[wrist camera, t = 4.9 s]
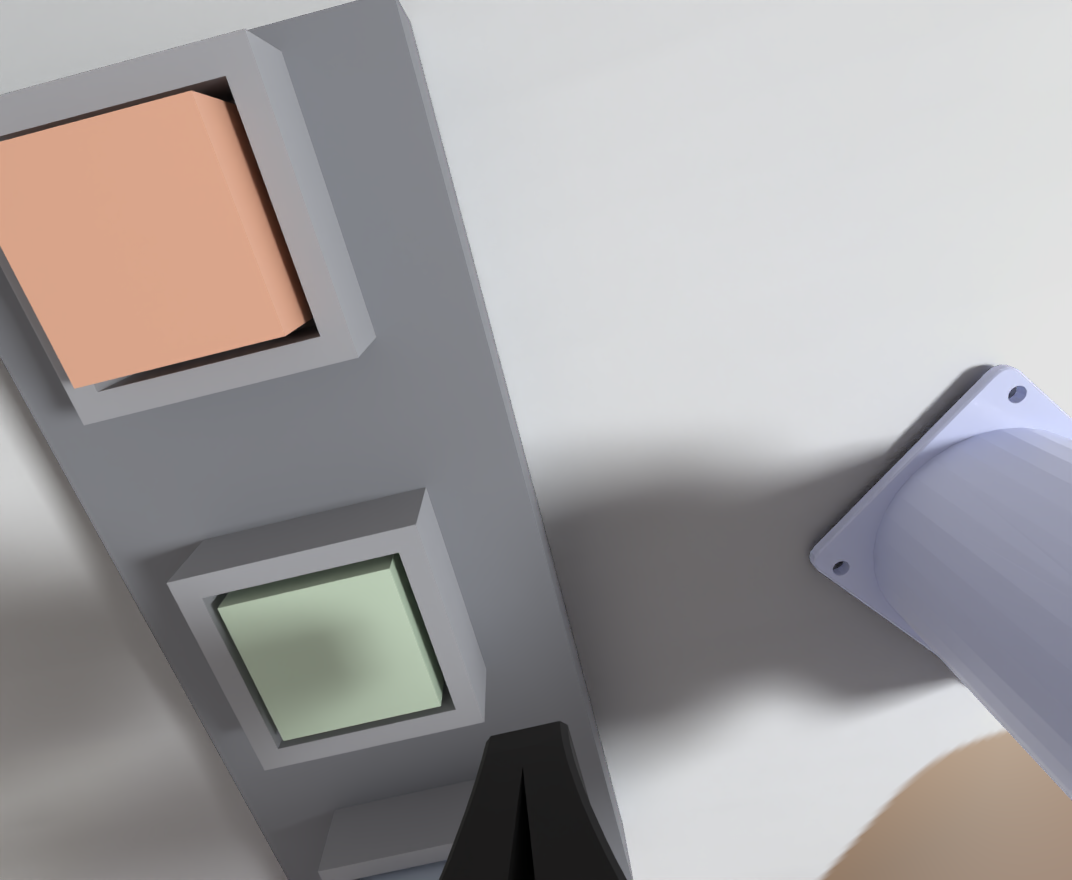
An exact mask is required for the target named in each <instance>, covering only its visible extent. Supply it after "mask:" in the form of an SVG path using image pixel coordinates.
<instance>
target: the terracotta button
mask: <svg viewBox="0 0 1072 880" xmlns="http://www.w3.org/2000/svg"><path fill="white" fill-rule="evenodd" d="M0 246H1V248H2V250H3V252H4V254H5V256H6V258H7V260H8V262H9V264H10V266H11V268H12V269H13V271H14V273H15V275H16V277H17V279H18V281H19V283H20V285H21V287H22V289H23V291H24V293H25V295H26V296H27V298H28V300H29V302H30V304H31V306H32V308H33V310H34V312H35V314H36V316H37V318H38V320H39V322H40V323H41V325H42V327H43V329H44V331H45V333H46V335H47V337H48V339H49V341H50V343H51V345H52V347H53V349H54V350H55V352H56V354H57V356H58V358H59V360H60V362H61V364H62V366H63V368H64V370H65V372H66V374H67V376H68V378H69V379H70V381H71V383H72V385H73V387H74V389H75V388H79V387H83V386H87V385H91V384H95V383H99V382H103V381H107V380H111V379H115V378H119V377H123V376H127V375H131V374H135V373H140V372H144V371H148V370H152V369H156V368H160V367H164V366H168V365H172V364H176V363H180V362H184V361H188V360H192V359H196V358H200V357H204V356H208V355H212V354H216V353H220V352H224V351H228V350H232V349H236V348H240V347H244V346H248V345H252V344H256V343H260V342H264V341H268V340H272V339H276V338H280V337H284V336H286V335H288V334H289V333H291V332H292V331H294V330H295V329H297V328H298V327H300V326H301V325H303V324H304V323H306V322H307V321H309V320H310V319H312V318H313V315H312V312H311V309H310V307H309V304H308V301H307V298H306V296H305V293H304V290H303V287H302V285H301V282H300V279H299V276H298V274H297V271H296V268H295V265H294V263H293V260H292V257H291V254H290V252H289V249H288V246H287V243H286V241H285V238H284V235H283V232H282V230H281V227H280V224H279V221H278V219H277V216H276V213H275V210H274V208H273V205H272V202H271V199H270V197H269V194H268V191H267V188H266V185H265V183H264V180H263V177H262V174H261V172H260V169H259V166H258V163H257V161H256V158H255V155H254V152H253V150H252V147H251V144H250V141H249V139H248V136H247V133H246V130H245V128H244V125H243V122H242V119H241V117H240V114H239V111H238V108H237V106H236V105H235V104H232V103H229V102H226V101H223V100H220V99H217V98H214V97H210V96H207V95H204V94H201V93H198V92H195V91H192V90H191V91H188V92H184V93H180V94H176V95H173V96H169V97H165V98H161V99H158V100H154V101H150V102H146V103H143V104H139V105H135V106H132V107H128V108H124V109H120V110H117V111H113V112H109V113H105V114H102V115H98V116H94V117H90V118H87V119H83V120H79V121H76V122H72V123H68V124H64V125H61V126H57V127H53V128H49V129H46V130H42V131H38V132H34V133H31V134H27V135H23V136H20V137H16V138H12V139H8V140H5V141H1V142H0Z"/></svg>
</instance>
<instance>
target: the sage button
mask: <svg viewBox="0 0 1072 880" xmlns="http://www.w3.org/2000/svg"><path fill="white" fill-rule="evenodd" d="M217 609H218V611H219V613H220V615H221V617H222V619H223V621H224V623H225V625H226V627H227V629H228V631H229V633H230V635H231V637H232V639H233V641H234V643H235V645H236V647H237V649H238V651H239V653H240V655H241V657H242V659H243V661H244V663H245V665H246V667H247V669H248V671H249V673H250V675H251V677H252V679H253V681H254V683H255V685H256V687H257V689H258V691H259V693H260V695H261V697H262V699H263V701H264V703H265V705H266V707H267V709H268V711H269V713H270V715H271V717H272V719H273V721H274V723H275V725H276V727H277V729H278V731H279V733H280V735H281V737H282V739H283V741H286V740H291V739H295V738H300V737H304V736H309V735H313V734H318V733H322V732H327V731H331V730H336V729H340V728H345V727H349V726H354V725H358V724H363V723H367V722H372V721H376V720H381V719H385V718H390V717H394V716H399V715H403V714H408V713H412V712H417V711H421V710H426V709H430V708H435V707H439V706H441V701H442V693H443V685H444V676H443V673H442V670H441V667H440V665H439V662H438V659H437V656H436V654H435V651H434V648H433V645H432V643H431V640H430V637H429V634H428V632H427V629H426V626H425V623H424V621H423V618H422V615H421V612H420V610H419V607H418V604H417V601H416V599H415V596H414V593H413V590H412V588H411V585H410V582H409V579H408V577H407V574H406V571H405V568H404V566H403V563H402V560H401V557H400V555H399V553H395V554H390V555H386V556H382V557H377V558H373V559H369V560H365V561H360V562H356V563H352V564H347V565H343V566H339V567H335V568H330V569H326V570H322V571H317V572H313V573H309V574H305V575H300V576H296V577H292V578H287V579H283V580H279V581H274V582H270V583H266V584H262V585H257V586H253V587H249V588H244V589H240V590H236V591H232V592H228V594H227V595H226V597H225V598H224V600H223V601H222V603H221V604H220V605H219V607H218V608H217Z"/></svg>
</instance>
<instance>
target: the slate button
mask: <svg viewBox="0 0 1072 880" xmlns="http://www.w3.org/2000/svg"><path fill="white" fill-rule="evenodd" d="M446 861H447V860H444V861H439V862H434V863H429V864H425V865H420V866H415V867H411V868H406V869H401V870H396V871H392V872H387V873H382V874H377V875H373V876H368V877H363V878H360V880H439V878H440V876H441V873H442V871H443V868H444V866H445V863H446Z"/></svg>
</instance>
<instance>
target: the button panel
mask: <svg viewBox="0 0 1072 880" xmlns="http://www.w3.org/2000/svg"><path fill="white" fill-rule="evenodd" d="M191 90H192V91H195V92H198V93H201V94H204V95H207V96H210V97H214V98H217V99H220V100H223V101H226V102H229V103H232V104H235V105H236V106H237V108H238V111H239V114H240V117H241V119H242V122H243V125H244V128H245V130H246V133H247V136H248V139H249V141H250V144H251V147H252V150H253V152H254V155H255V158H256V161H257V163H258V166H259V169H260V172H261V174H262V177H263V180H264V183H265V185H266V188H267V191H268V194H269V197H270V199H271V202H272V205H273V208H274V210H275V213H276V216H277V219H278V221H279V224H280V227H281V230H282V232H283V235H284V238H285V241H286V243H287V246H288V249H289V252H290V254H291V257H292V260H293V263H294V265H295V268H296V271H297V274H298V276H299V279H300V282H301V285H302V287H303V290H304V293H305V296H306V298H307V301H308V304H309V307H310V309H311V312H312V315H313V318H312V319H310V320H309V321H307V322H306V323H304V324H303V325H301V326H300V327H298V328H297V329H295V330H294V331H292V332H291V333H289V334H288V335H286V336H284V337H280V338H276V339H272V340H268V341H264V342H260V343H256V344H252V345H248V346H244V347H240V348H236V349H232V350H228V351H224V352H220V353H216V354H212V355H208V356H204V357H200V358H196V359H192V360H188V361H184V362H180V363H176V364H172V365H168V366H164V367H160V368H156V369H152V370H148V371H144V372H140V373H135V374H131V375H127V376H123V377H119V378H115V379H111V380H107V381H103V382H99V383H95V384H91V385H87V386H83V387H79V388H75V389H74V387H73V385H72V383H71V381H70V379H69V378H68V376H67V374H66V372H65V370H64V368H63V366H62V364H61V362H60V360H59V358H58V356H57V354H56V352H55V350H54V349H53V347H52V345H51V343H50V341H49V339H48V337H47V335H46V333H45V331H44V329H43V327H42V325H41V323H40V322H39V320H38V318H37V316H36V314H35V312H34V310H33V308H32V306H31V304H30V302H29V300H28V298H27V296H26V295H25V293H24V291H23V289H22V287H21V285H20V283H19V281H18V279H17V277H16V275H15V273H14V271H13V269H12V268H11V266H10V264H9V262H8V260H7V258H6V256H5V254H4V252H3V250H2V248H1V246H0V358H1V359H2V361H3V363H4V365H5V367H6V369H7V370H8V372H9V374H10V376H11V378H12V379H13V381H14V383H15V385H16V387H17V388H18V390H19V392H20V394H21V396H22V398H23V399H24V401H25V403H26V405H27V407H28V408H29V410H30V412H31V414H32V416H33V417H34V419H35V421H36V423H37V425H38V427H39V428H40V430H41V432H42V434H43V436H44V437H45V439H46V441H47V443H48V445H49V446H50V448H51V450H52V452H53V454H54V456H55V457H56V459H57V461H58V463H59V465H60V466H61V468H62V470H63V472H64V474H65V476H66V477H67V479H68V481H69V483H70V485H71V486H72V488H73V490H74V492H75V494H76V495H77V497H78V499H79V501H80V503H81V505H82V506H83V508H84V510H85V512H86V514H87V515H88V517H89V519H90V521H91V523H92V524H93V526H94V528H95V530H96V532H97V534H98V535H99V537H100V539H101V541H102V543H103V544H104V546H105V548H106V550H107V552H108V553H109V555H110V557H111V559H112V561H113V563H114V564H115V566H116V568H117V570H118V572H119V573H120V575H121V577H122V579H123V581H124V582H125V584H126V586H127V588H128V590H129V592H130V593H131V595H132V597H133V599H134V601H135V602H136V604H137V606H138V608H139V610H140V612H141V613H142V615H143V617H144V619H145V621H146V622H147V624H148V626H149V628H150V630H151V631H152V633H153V635H154V637H155V639H156V641H157V642H158V644H159V646H160V648H161V650H162V651H163V653H164V655H165V657H166V659H167V660H168V662H169V664H170V666H171V668H172V670H173V671H174V673H175V675H176V677H177V679H178V680H179V682H180V684H181V686H182V688H183V689H184V691H185V693H186V695H187V697H188V699H189V700H190V702H191V704H192V706H193V708H194V709H195V711H196V713H197V715H198V717H199V719H200V720H201V722H202V724H203V726H204V728H205V729H206V731H207V733H208V735H209V737H210V738H211V740H212V742H213V744H214V746H215V748H216V749H217V751H218V753H219V755H220V757H221V758H222V760H223V762H224V764H225V766H226V767H227V769H228V771H229V773H230V775H231V777H232V778H233V780H234V782H235V784H236V786H237V787H238V789H239V791H240V793H241V795H242V796H243V798H244V800H245V802H246V804H247V806H248V807H249V809H250V811H251V813H252V815H253V816H254V818H255V820H256V822H257V824H258V826H259V827H260V829H261V831H262V833H263V835H264V836H265V838H266V840H267V842H268V844H269V845H270V847H271V849H272V851H273V853H274V855H275V856H276V858H277V860H278V862H279V864H280V865H281V867H282V869H283V871H284V873H285V874H286V876H287V878H288V880H360V878H363V877H368V876H373V875H377V874H382V873H387V872H392V871H396V870H401V869H406V868H411V867H415V866H420V865H425V864H429V863H434V862H439V861H444V860H447V858H448V856H449V853H450V850H451V848H452V845H453V842H454V840H455V837H456V834H457V832H458V829H459V826H460V824H461V821H462V818H463V816H464V813H465V810H466V807H467V804H468V801H469V798H470V795H471V792H472V789H473V786H474V783H475V779H476V776H477V773H478V770H479V766H480V763H481V759H482V756H483V752H484V748H485V744H486V742H487V740H488V739H489V738H490V736H493V735H497V734H502V733H506V732H511V731H516V730H520V729H525V728H529V727H534V726H538V725H543V724H547V723H552V722H557V721H561V722H563V723H565V724H567V725H568V727H569V731H570V734H571V738H572V741H573V745H574V748H575V752H576V755H577V759H578V762H579V766H580V769H581V773H582V776H583V780H584V783H585V787H586V790H587V794H588V797H589V801H590V804H591V807H592V809H593V811H594V813H595V815H596V818H597V820H598V822H599V824H600V827H601V829H602V831H603V833H604V835H605V838H606V840H607V842H608V844H609V846H610V848H611V850H612V852H613V854H614V856H615V858H616V860H617V862H618V864H619V866H620V867H621V869H622V871H623V873H624V875H625V877H626V879H627V880H633V876H632V871H631V866H630V860H629V855H628V849H627V844H626V839H625V833H624V828H623V823H622V820H621V816H620V812H619V808H618V805H617V801H616V797H615V793H614V789H613V786H612V782H611V778H610V774H609V771H608V767H607V763H606V759H605V755H604V752H603V748H602V744H601V740H600V737H599V733H598V729H597V725H596V721H595V718H594V714H593V710H592V706H591V703H590V699H589V695H588V691H587V687H586V684H585V680H584V676H583V672H582V669H581V665H580V661H579V657H578V653H577V650H576V646H575V642H574V638H573V635H572V631H571V627H570V623H569V619H568V616H567V612H566V608H565V604H564V601H563V597H562V593H561V589H560V585H559V582H558V578H557V574H556V570H555V567H554V563H553V559H552V555H551V551H550V548H549V544H548V540H547V536H546V533H545V529H544V525H543V521H542V517H541V514H540V510H539V506H538V502H537V499H536V495H535V491H534V487H533V483H532V480H531V476H530V472H529V468H528V465H527V461H526V457H525V453H524V449H523V446H522V442H521V438H520V434H519V431H518V427H517V423H516V419H515V415H514V412H513V408H512V404H511V400H510V397H509V393H508V389H507V385H506V381H505V378H504V374H503V370H502V366H501V363H500V359H499V355H498V351H497V347H496V344H495V340H494V336H493V332H492V328H491V325H490V321H489V317H488V313H487V310H486V306H485V302H484V298H483V294H482V291H481V287H480V283H479V279H478V276H477V272H476V268H475V264H474V260H473V257H472V253H471V249H470V245H469V242H468V238H467V234H466V230H465V226H464V223H463V219H462V215H461V211H460V208H459V204H458V200H457V196H456V192H455V189H454V185H453V181H452V177H451V174H450V170H449V166H448V162H447V158H446V155H445V151H444V147H443V143H442V140H441V136H440V132H439V128H438V124H437V121H436V117H435V113H434V109H433V106H432V102H431V98H430V94H429V90H428V87H427V83H426V79H425V75H424V72H423V68H422V64H421V60H420V56H419V53H418V49H417V45H416V41H415V38H414V34H413V30H412V26H411V22H410V20H409V18H408V17H407V15H406V13H405V11H404V9H403V8H402V6H401V4H400V2H399V0H357V1H353V2H350V3H346V4H342V5H339V6H335V7H331V8H328V9H324V10H320V11H316V12H313V13H309V14H305V15H302V16H298V17H294V18H291V19H287V20H283V21H280V22H276V23H272V24H269V25H265V26H261V27H257V28H254V29H250V30H246V29H242V30H238V31H234V32H230V33H227V34H223V35H219V36H216V37H212V38H208V39H205V40H201V41H197V42H194V43H190V44H186V45H183V46H179V47H175V48H171V49H168V50H164V51H160V52H157V53H153V54H149V55H146V56H142V57H138V58H135V59H131V60H127V61H124V62H120V63H116V64H112V65H109V66H105V67H101V68H98V69H94V70H90V71H87V72H83V73H79V74H76V75H72V76H68V77H65V78H61V79H57V80H53V81H50V82H46V83H42V84H39V85H35V86H31V87H28V88H24V89H20V90H17V91H13V92H9V93H5V94H2V95H0V142H1V141H5V140H8V139H12V138H16V137H20V136H23V135H27V134H31V133H34V132H38V131H42V130H46V129H49V128H53V127H57V126H61V125H64V124H68V123H72V122H76V121H79V120H83V119H87V118H90V117H94V116H98V115H102V114H105V113H109V112H113V111H117V110H120V109H124V108H128V107H132V106H135V105H139V104H143V103H146V102H150V101H154V100H158V99H161V98H165V97H169V96H173V95H176V94H180V93H184V92H188V91H191ZM395 553H399V555H400V557H401V560H402V563H403V566H404V568H405V571H406V574H407V577H408V579H409V582H410V585H411V588H412V590H413V593H414V596H415V599H416V601H417V604H418V607H419V610H420V612H421V615H422V618H423V621H424V623H425V626H426V629H427V632H428V634H429V637H430V640H431V643H432V645H433V648H434V651H435V654H436V656H437V659H438V662H439V665H440V667H441V670H442V673H443V676H444V685H443V693H442V701H441V706H439V707H435V708H430V709H426V710H421V711H417V712H412V713H408V714H403V715H399V716H394V717H390V718H385V719H381V720H376V721H372V722H367V723H363V724H358V725H354V726H349V727H345V728H340V729H336V730H331V731H327V732H322V733H318V734H313V735H309V736H304V737H300V738H295V739H291V740H286V741H283V739H282V737H281V735H280V733H279V731H278V729H277V727H276V725H275V723H274V721H273V719H272V717H271V715H270V713H269V711H268V709H267V707H266V705H265V703H264V701H263V699H262V697H261V695H260V693H259V691H258V689H257V687H256V685H255V683H254V681H253V679H252V677H251V675H250V673H249V671H248V669H247V667H246V665H245V663H244V661H243V659H242V657H241V655H240V653H239V651H238V649H237V647H236V645H235V643H234V641H233V639H232V637H231V635H230V633H229V631H228V629H227V627H226V625H225V623H224V621H223V619H222V617H221V615H220V613H219V611H218V609H217V608H218V607H219V605H220V604H221V603H222V601H223V600H224V598H225V597H226V595H227V594H228V592H232V591H236V590H240V589H244V588H249V587H253V586H257V585H262V584H266V583H270V582H274V581H279V580H283V579H287V578H292V577H296V576H300V575H305V574H309V573H313V572H317V571H322V570H326V569H330V568H335V567H339V566H343V565H347V564H352V563H356V562H360V561H365V560H369V559H373V558H377V557H382V556H386V555H390V554H395Z"/></svg>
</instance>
